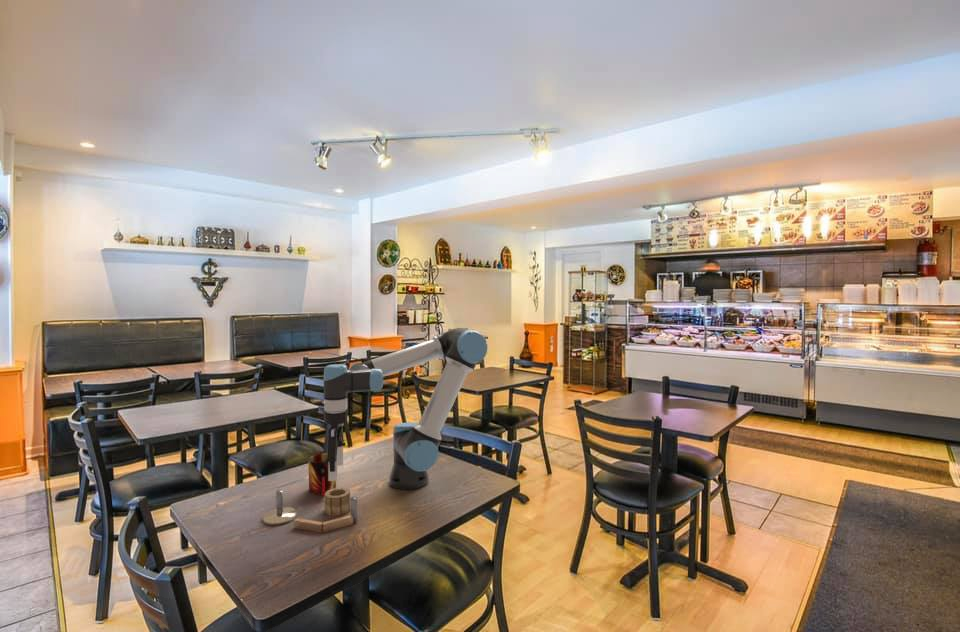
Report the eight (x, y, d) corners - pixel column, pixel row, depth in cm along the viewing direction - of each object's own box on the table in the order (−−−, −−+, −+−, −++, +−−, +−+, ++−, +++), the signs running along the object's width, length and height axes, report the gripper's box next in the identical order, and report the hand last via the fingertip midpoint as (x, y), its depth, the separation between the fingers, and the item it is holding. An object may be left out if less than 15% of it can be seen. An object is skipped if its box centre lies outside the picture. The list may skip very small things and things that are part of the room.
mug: (323, 500, 168) (322, 467, 168) (304, 489, 178) (303, 458, 177) (347, 491, 175) (346, 460, 175) (327, 481, 185) (326, 451, 184)
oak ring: (351, 503, 166) (351, 486, 165) (348, 514, 158) (348, 496, 157) (327, 505, 164) (327, 488, 164) (323, 516, 156) (323, 498, 156)
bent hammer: (357, 520, 153) (357, 496, 153) (355, 529, 147) (355, 504, 147) (295, 525, 150) (294, 500, 150) (290, 534, 145) (289, 509, 144)
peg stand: (299, 509, 161) (298, 483, 161) (292, 524, 151) (291, 496, 151) (268, 511, 160) (267, 485, 159) (259, 526, 150) (258, 498, 149)
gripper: (330, 402, 171) (330, 460, 172) (316, 420, 146) (317, 488, 147) (351, 401, 172) (352, 459, 173) (341, 420, 147) (342, 486, 148)
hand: (336, 472), depth 160 cm, fingers open, 13 cm apart
